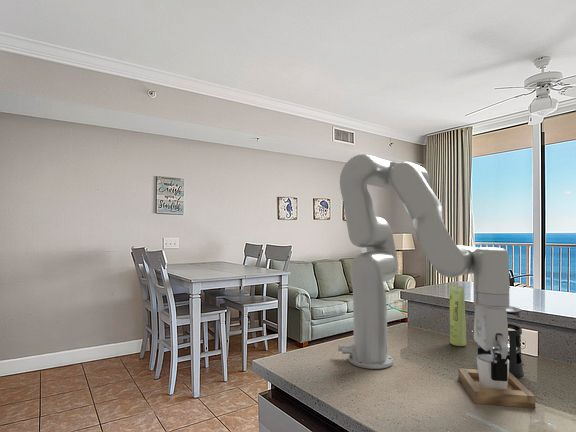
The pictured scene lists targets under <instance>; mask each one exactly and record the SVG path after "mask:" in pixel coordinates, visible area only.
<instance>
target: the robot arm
mask: <svg viewBox="0 0 576 432" xmlns="http://www.w3.org/2000/svg"><path fill="white" fill-rule="evenodd" d="M368 186H374V187H378V188H384V189H388V190H391V191H394V193H395V195H396V196H397V198H398V200H399V201H400V202H401V204H402V206H403V207H404V209H405V211H406V213H407V214H408V216H409V218H410V220H411V221H412V225H413V228H414V231H415V235H416V239H417V241H418V243H419V246H420V247H421V249H422V252H423V253H424V254H425V257H426V258H427V259H428V261H429V262H430V264H431V266H432V267H433V268H434V270H435V271H436V272H437V273H438V274H440V275H441V276H443V277H446V278H457V277H460V276H465V275H473V279H472V280H473V305H474V317H473V318H474V319H473V321H474V322H473V339H474V341H475V343H476V344H477V355H479V354H491V355H492V360H493V362H491V379H492V380H494V381H507V380H508V371H507V364H508V360H507V359H508V355H509V354H508V344H509V336H508V330H509V328H508V323H509V322H508V314H507V312H506V309H507V308H509V307H510V306H511V304H510V288H509V287H510V255H509V252H508V250H507V249H506V248H503V247H502V248H501V247H494V246H493V247H492V246H491V247H489V246H486V247H485V246H484V247H483V246H481V247H474V246H467V245H463V244H461V245H459V244H456V242H455V241H454V240H453V238H452V236H451V235H450V233H449V231H448V229H447V227H446V225H445V222H444V218H443V208H444V207H443V205H442V203H441V201H440V200H439V198H438V196H437V195H436V194H435V192H434V191H433V189H432V188H431V186H430V175H429V172H428V171H427V170H426V169H425V168H424V167H422V166H421V165H419V164H416V163H413V162H408V161H403V162H396V161H390V160H386V159H383V158H379V157H378V156H377V157H376V156H374V155H370V154H363V153H362V154H357V155H354V156H353V157H351V158H349V160H347V162H346V163H345V164H344V166H343V168H342V169H341V172H340V176H339V188H340V189H339V190H340V193H341V198H342V201H343V208H344V216H345V222H346V226H347V227H346V228H347V234H348V238H349V240H350V243H351V244H352V245H353V246H355V247H356V248H361V249H363V248H366V251H365V252H362V253H360V254H358V255H356V256H355V257H354V258H353V259H352V261H351V264H350V267H349V273H350V275H349V276H350V280H351V281H350V282H351V286H352V302H353V305H352V306H353V309H352V310H353V313H352V314H353V341H352V344H351V343H350V344H349V345H345V344H338V352H341V353H342V355H343V354H344V355H345V354H348V362H349V363H351V364H352V365H354V366H356V367H359V368H362V369H363V368H364V369H369V370H370V369H371V370H372V369H374V370H378V369H379V370H381V369H387V368H390V367H391V366H392V365H393V364H394V359H393V356H391V355H390V354H388V308H387V303H388V301H387V294H386V293H387V292H386V289H385V284H384V283H385V282H389V281H391V280H392V279H393V278H394V277H396V275H397V273H398V269H399V261H398V256H397V250H396V245H395V240H394V235H393V230H392V228H391V226H390V223H389V222H388V221H386V219H384V218H383V217H380V216H376V214H375V210H374V206H373V199H372V196H371V193H370V192H369V190H368ZM495 353H498V354H497V356H496V354H495Z"/></svg>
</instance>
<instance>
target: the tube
mask: <svg viewBox="0 0 576 432" xmlns="http://www.w3.org/2000/svg"><path fill="white" fill-rule="evenodd" d="M464 289H465V287H464V286H461V285H455V284H451V283H449V340H450V341H449V342H450V344H451V345H453V346H457V347H465V346H467V323H466V305H465V301H466V300H465V290H464Z"/></svg>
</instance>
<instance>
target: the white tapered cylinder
mask: <svg viewBox="0 0 576 432" xmlns="http://www.w3.org/2000/svg"><path fill="white" fill-rule="evenodd" d="M496 356H497V355H496ZM507 360H508V359H507ZM491 362H493V360H492V355H491V354H479V355H478V354H477V355H476V364H477V365H476V366H477V370H478V374H479V383H480V387H481V388H492V389H505V390H507V386H508V380H507V381H494V380H492V379H491ZM507 371H508V373H509V360H508V364H507Z"/></svg>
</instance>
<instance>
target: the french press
mask: <svg viewBox="0 0 576 432" xmlns="http://www.w3.org/2000/svg"><path fill="white" fill-rule="evenodd" d="M509 289H511V286H509ZM506 312H507V315H511V316H515V317H518V318H521V317H520V316H521V315H520V313H522V309H521V308H520V307H515V306H511V305H510V307H509V308H507V309H506ZM509 329H511V330H509ZM522 334H523V327H521V326H519V325H517V324H515V323H514V324H513V323H509V322H508V360H509V372H510V373H511V374H512V375H514V376H515V377H516V378H517V379H518V378H521V377H523V376H524V375H525V372H524V369H523V368H524V365H523V364H524V363H523V359H522V346H521V345H522V343H521V341H522V340H521V338H522V337H521V335H522ZM495 354H496V355H497V354H498V353H495Z"/></svg>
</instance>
